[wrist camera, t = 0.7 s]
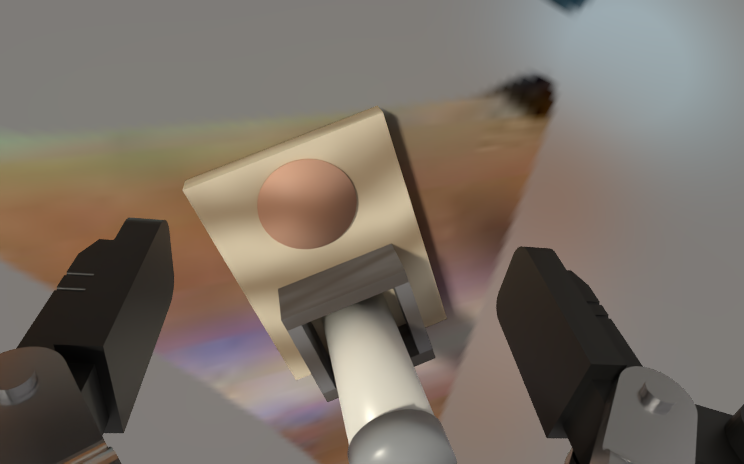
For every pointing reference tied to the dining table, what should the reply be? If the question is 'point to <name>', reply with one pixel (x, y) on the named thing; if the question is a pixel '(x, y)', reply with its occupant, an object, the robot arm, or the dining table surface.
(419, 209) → the dining table surface
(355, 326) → the cylinder
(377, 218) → the socket board
